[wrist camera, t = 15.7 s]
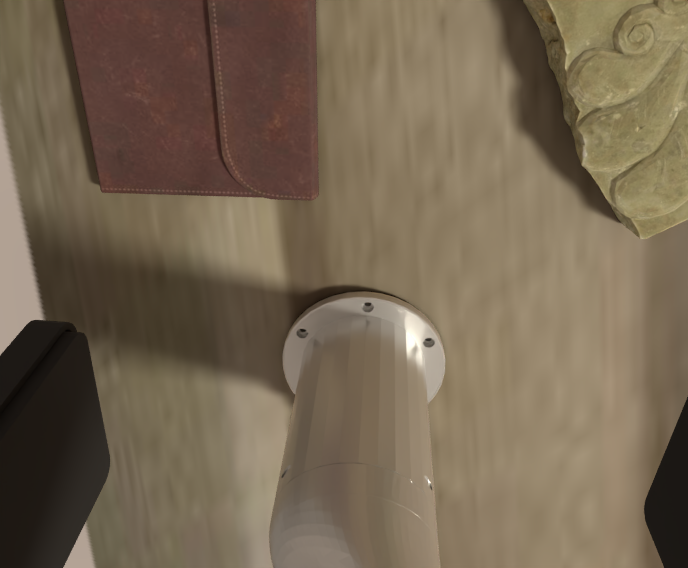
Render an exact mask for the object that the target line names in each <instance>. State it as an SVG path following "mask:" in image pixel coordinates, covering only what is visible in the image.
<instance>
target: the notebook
mask: <svg viewBox="0 0 688 568" xmlns="http://www.w3.org/2000/svg"><path fill="white" fill-rule="evenodd" d="M63 3H64V8H65V13H66V18H67V23H68V28H69V33H70V38H71V43H72V48H73V53H74V58H75V63H76V68H77V73H78V78H79V83H80V88H81V93H82V98H83V103H84V108H85V113H86V118H87V123H88V128H89V133H90V138H91V143H92V148H93V153H94V158H95V163H96V168H97V173H98V179H99V184H100V189H101V192H104V193H136V194H168V195H201V196H233V197H264V198H269V199H278V200H314V199H315V198H317V197H318V195H319V184H318V119H317V55H316V0H63Z"/></svg>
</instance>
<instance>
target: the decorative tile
mask: <svg viewBox="0 0 688 568" xmlns="http://www.w3.org/2000/svg"><path fill="white" fill-rule="evenodd" d="M523 2H524V3H525V5H526V6H527V8H528V10H529V12H530V14H531V15H532V17H533V19H534V20H535V22H536V23H537V25H538V27H539V29H540V34H541V37H542V39H543V40H544V41H545V46H546V50H547V56H548V64H549V66H550V68H551V69H552V71H553V72H554V74H555V76H556V79H557V82H558V84H559V87H560V91H561V96H562V100H563V115H564V119H565V121H566V123H567V124H568V125H569V126H570V128H571V130H572V134H573V137H574V140H575V147H576V151H577V154H578V157H579V160H580V162H581V165H582V166H583V167H584V168H585V169H586V170H587V171H588V172H589V173H590V174H591V176H592V177H593V179H594V180H595V182H596V183H597V185H598V186H599V187H600V190H601V192H602V194H603V195H604V197H605V198H606V199H607V201H608V202H609V204H610V205H611V207H612V209H613V211H614V213H615V215H616V216H617V218H618V219H619V220H620V222H621V223H622V224H623V225H624V226H625V227H626V228H628V229H629V230H631V231H632V232H633V233H634V234H635V235H637V236H638V237H639V239H646V238H649V237H651V236H653V235H655V234H657V233H660V232H662V231H664V230H666V229H668V228H670V227H672V226H675V225H677V224H679V223H681V222H683V221H685V220H687V219H688V0H523Z"/></svg>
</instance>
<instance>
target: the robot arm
mask: <svg viewBox="0 0 688 568" xmlns="http://www.w3.org/2000/svg"><path fill="white" fill-rule="evenodd" d="M366 302H369V303H366ZM283 370H284V374H285V379H286V381H287V383H288V385H289V387H290V389H291V390H292V392H293V393H294V394H295V399H294V404H293V409H292V414H291V420H290V425H289V430H288V435H287V440H286V445H285V451H284V456H283V461H282V466H281V471H280V476H279V481H278V487H277V492H276V497H275V502H274V507H273V512H272V517H271V523H270V531H269V543H270V554H271V559H272V563H273V568H440V558H439V548H438V535H437V522H436V508H435V495H434V481H433V467H432V454H431V440H430V426H429V413H428V404H429V402H430V401H431V400H432V399H433V398H434V397H435V395H436V394H437V392H438V390H439V388H440V386H441V384H442V381H443V377H444V374H445V354H444V347H443V344H442V341H441V338H440V335H439V333H438V332H437V330H436V328H435V327H434V325H433V324H432V322H431V321H430V320H429V319H428V318H427V317H426V316H425V315H424V314H423V313H422V312H420V311H419V310H418V309H416V308H415V307H414V306H412V305H411V304H409V303H407V302H405V301H402V300H400V299H398V298H396V297H393V296H389V295H385V294H382V293H375V292H366V291H363V292H347V293H343V294H338V295H334V296H331V297H329V298H326V299H324V300H321V301H319V302H317V303H316V304H314V305H313V306H311V307H310V308H308V309H306V310H305V311H304V312H303V313H302V314H301V315H300V316H299V317H298V318H297V319H296V321H295V322H294V324H293V325H292V327H291V329H290V330H289V333H288V335H287V338H286V341H285V345H284V350H283ZM109 467H110V455H109V450H108V444H107V439H106V434H105V429H104V424H103V418H102V413H101V408H100V403H99V398H98V392H97V387H96V382H95V377H94V372H93V367H92V361H91V356H90V351H89V346H88V341H87V338H86V336H85V334H84V333H80V332H77V330H76V328H75V326H74V325H73V324H72V323H70V322H57V321H44V320H33V321H31V322H29V323H28V324H27V325H26V326H25V327H24V329H23V330H22V331H21V332H20V333H19V334H18V335H17V337H16V338H15V339H14V340H13V341H12V342H11V344H10V345H9V346H8V347H7V348H6V349H5V351H4V352H3V353H2V354H1V356H0V568H63V567H64V565H65V563H66V561H67V559H68V557H69V555H70V552H71V550H72V548H73V547H74V544H75V542H76V540H77V538H78V536H79V534H80V532H81V530H82V528H83V526H84V524H85V522H86V520H87V518H88V516H89V514H90V512H91V510H92V508H93V506H94V504H95V502H96V500H97V498H98V496H99V494H100V492H101V490H102V488H103V485H104V483H105V481H106V479H107V476H108V473H109ZM644 513H645V520H646V523H647V526H648V529H649V531H650V534H651V536H652V539H653V541H654V543H655V546H656V548H657V551H658V553H659V556H660V558H661V560H662V563H663V565H664V568H688V397H687V400H686V402H685V405H684V407H683V410H682V412H681V414H680V417H679V419H678V422H677V424H676V427H675V429H674V432H673V434H672V436H671V439H670V441H669V444H668V446H667V449H666V451H665V453H664V456H663V458H662V461H661V463H660V466H659V468H658V471H657V473H656V475H655V478H654V480H653V483H652V485H651V488H650V490H649V492H648V495H647V497H646V501H645V506H644Z"/></svg>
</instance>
